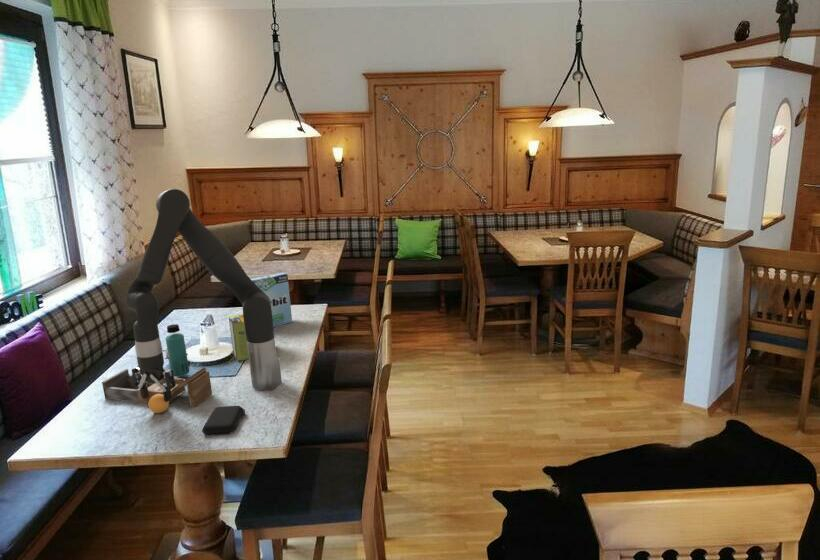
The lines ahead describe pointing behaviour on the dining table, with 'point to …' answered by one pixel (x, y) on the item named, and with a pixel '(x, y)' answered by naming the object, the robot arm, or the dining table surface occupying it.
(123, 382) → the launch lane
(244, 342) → the protein box
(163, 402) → the ball
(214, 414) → the carrying case or bag
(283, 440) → the dining table surface
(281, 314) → the gum box
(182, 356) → the beverage bottle
